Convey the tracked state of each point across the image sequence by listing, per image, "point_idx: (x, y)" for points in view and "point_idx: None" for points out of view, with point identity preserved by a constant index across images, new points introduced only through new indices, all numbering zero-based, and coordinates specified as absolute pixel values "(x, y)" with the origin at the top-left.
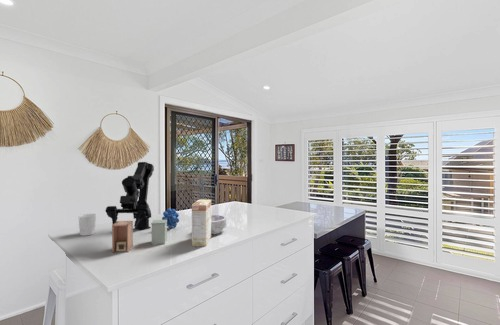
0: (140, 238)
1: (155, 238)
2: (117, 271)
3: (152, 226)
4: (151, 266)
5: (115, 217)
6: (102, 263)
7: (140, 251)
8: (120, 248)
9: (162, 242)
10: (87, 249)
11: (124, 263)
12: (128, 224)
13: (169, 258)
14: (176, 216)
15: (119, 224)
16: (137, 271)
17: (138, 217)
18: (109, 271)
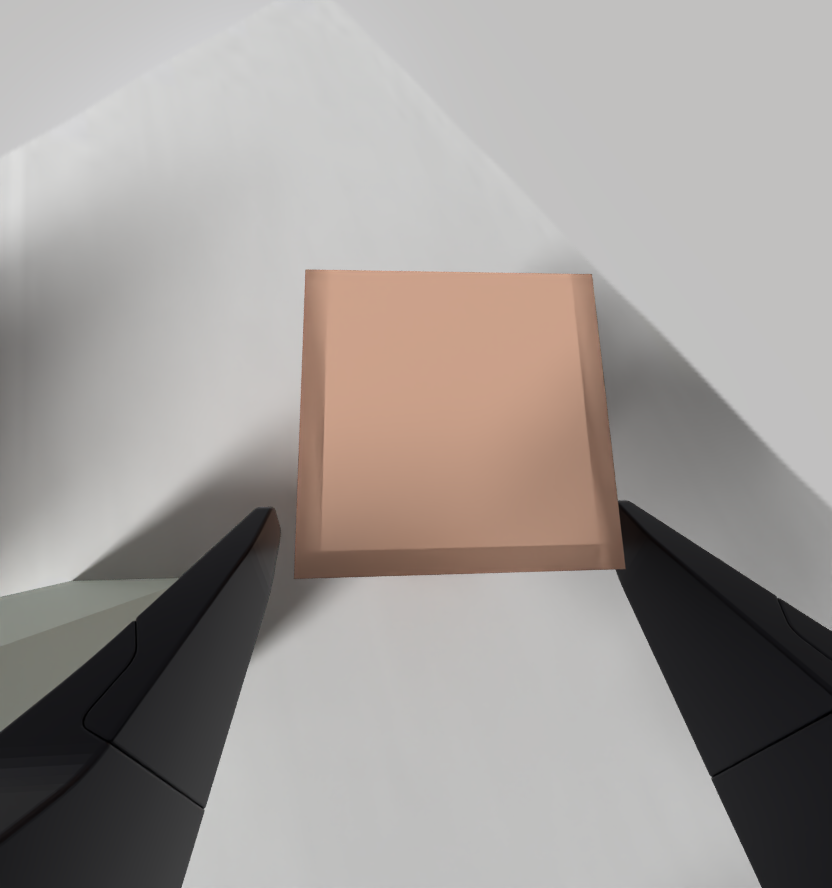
0: (349, 803)
1: (118, 591)
2: (328, 109)
3: (4, 638)
4: (142, 140)
5: (787, 726)
6: (460, 226)
7: (265, 406)
8: None
9: (81, 583)
10: (702, 505)
11: (322, 206)
12: (306, 294)
13: (27, 241)
14: None
15: (472, 295)
16: (215, 92)
17: (106, 662)
18: (373, 116)
